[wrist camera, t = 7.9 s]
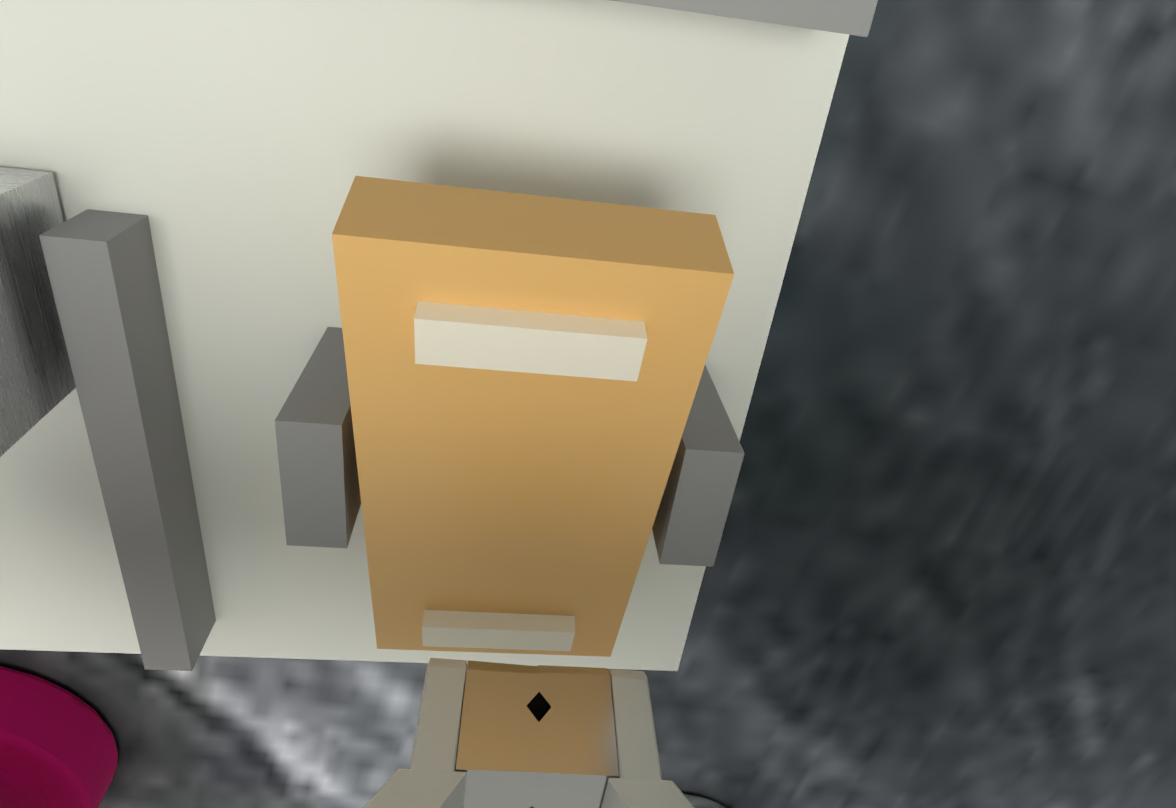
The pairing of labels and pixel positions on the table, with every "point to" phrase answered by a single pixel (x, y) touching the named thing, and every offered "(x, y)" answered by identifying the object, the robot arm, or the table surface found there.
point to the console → (309, 284)
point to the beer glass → (702, 802)
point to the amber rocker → (516, 403)
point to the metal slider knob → (28, 306)
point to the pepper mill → (51, 746)
